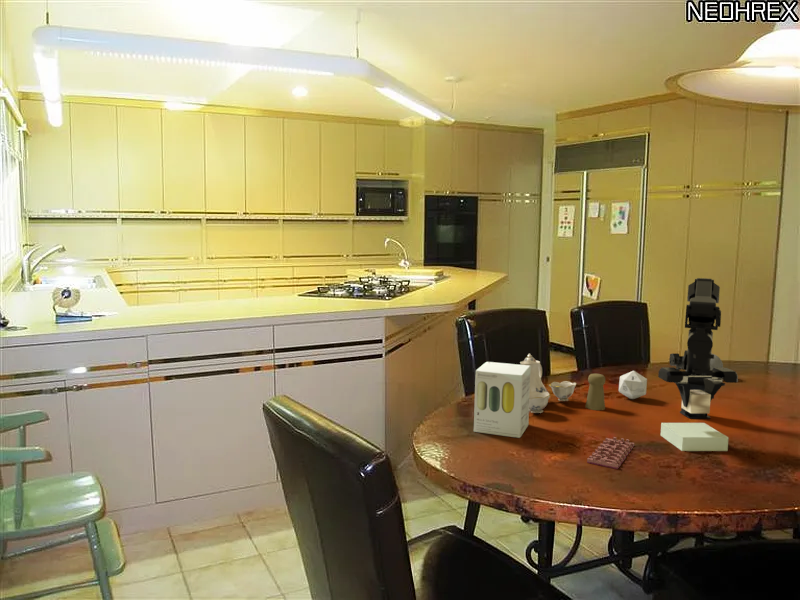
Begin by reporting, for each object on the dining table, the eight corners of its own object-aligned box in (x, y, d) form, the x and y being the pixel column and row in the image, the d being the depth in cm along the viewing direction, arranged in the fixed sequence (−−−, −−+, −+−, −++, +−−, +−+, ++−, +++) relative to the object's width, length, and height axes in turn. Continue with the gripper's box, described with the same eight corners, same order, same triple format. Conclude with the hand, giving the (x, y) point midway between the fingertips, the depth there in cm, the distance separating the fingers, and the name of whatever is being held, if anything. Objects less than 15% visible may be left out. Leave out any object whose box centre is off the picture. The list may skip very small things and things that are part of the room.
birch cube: (699, 407, 168) (700, 389, 168) (709, 413, 163) (710, 394, 163) (681, 407, 168) (682, 389, 167) (690, 413, 163) (692, 394, 162)
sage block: (703, 436, 173) (704, 422, 172) (727, 452, 161) (728, 437, 160) (660, 436, 172) (661, 422, 172) (681, 452, 160) (682, 437, 160)
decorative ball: (699, 374, 247) (701, 349, 246) (726, 379, 240) (728, 353, 238) (688, 378, 240) (690, 352, 239) (715, 383, 233) (717, 356, 232)
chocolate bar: (634, 447, 164) (634, 439, 164) (617, 470, 148) (617, 462, 148) (606, 441, 168) (606, 434, 168) (586, 464, 152) (587, 456, 152)
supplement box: (472, 432, 173) (474, 370, 171) (484, 418, 185) (485, 360, 183) (520, 438, 168) (522, 374, 166) (529, 424, 180) (531, 365, 178)
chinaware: (546, 422, 183) (549, 366, 181) (495, 411, 193) (497, 358, 191) (580, 401, 205) (582, 352, 204) (533, 393, 215) (535, 345, 213)
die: (617, 401, 206) (619, 372, 205) (619, 395, 214) (620, 366, 213) (645, 404, 203) (647, 374, 202) (645, 398, 211) (647, 369, 210)
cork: (606, 411, 194) (608, 376, 193) (586, 410, 195) (587, 375, 194) (604, 406, 200) (605, 372, 199) (584, 404, 201) (586, 371, 200)
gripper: (717, 343, 172) (713, 398, 174) (650, 342, 171) (647, 398, 173) (741, 351, 161) (736, 410, 163) (670, 350, 160) (666, 410, 162)
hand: (695, 406), depth 166 cm, fingers closed on birch cube, 5 cm apart
